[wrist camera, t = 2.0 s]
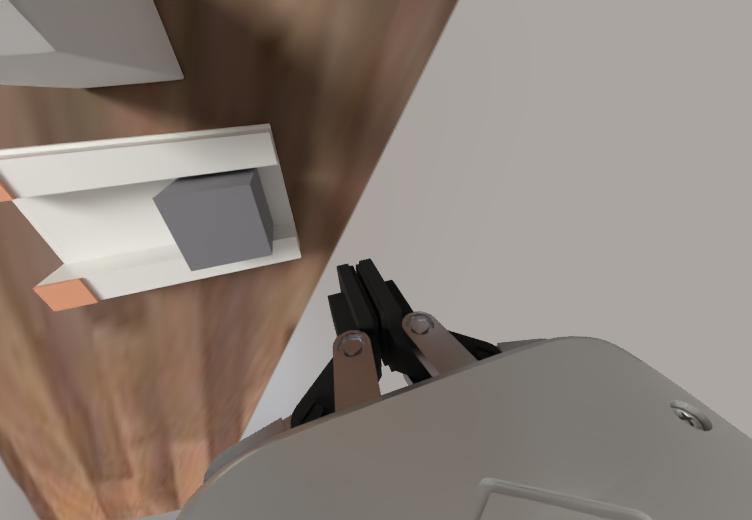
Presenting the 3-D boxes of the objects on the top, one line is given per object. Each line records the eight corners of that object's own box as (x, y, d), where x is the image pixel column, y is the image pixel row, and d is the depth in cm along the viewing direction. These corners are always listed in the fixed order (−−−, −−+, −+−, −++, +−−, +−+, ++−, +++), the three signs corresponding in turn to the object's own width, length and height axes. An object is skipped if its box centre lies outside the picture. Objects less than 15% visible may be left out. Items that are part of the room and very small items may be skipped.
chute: (269, 123, 24) (268, 128, 20) (298, 240, 30) (302, 261, 26) (-15, 150, 19) (-89, 164, 16) (90, 281, 26) (57, 314, 22)
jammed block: (255, 164, 24) (249, 184, 19) (273, 223, 27) (272, 254, 22) (182, 174, 23) (152, 198, 17) (209, 234, 26) (191, 271, 20)
